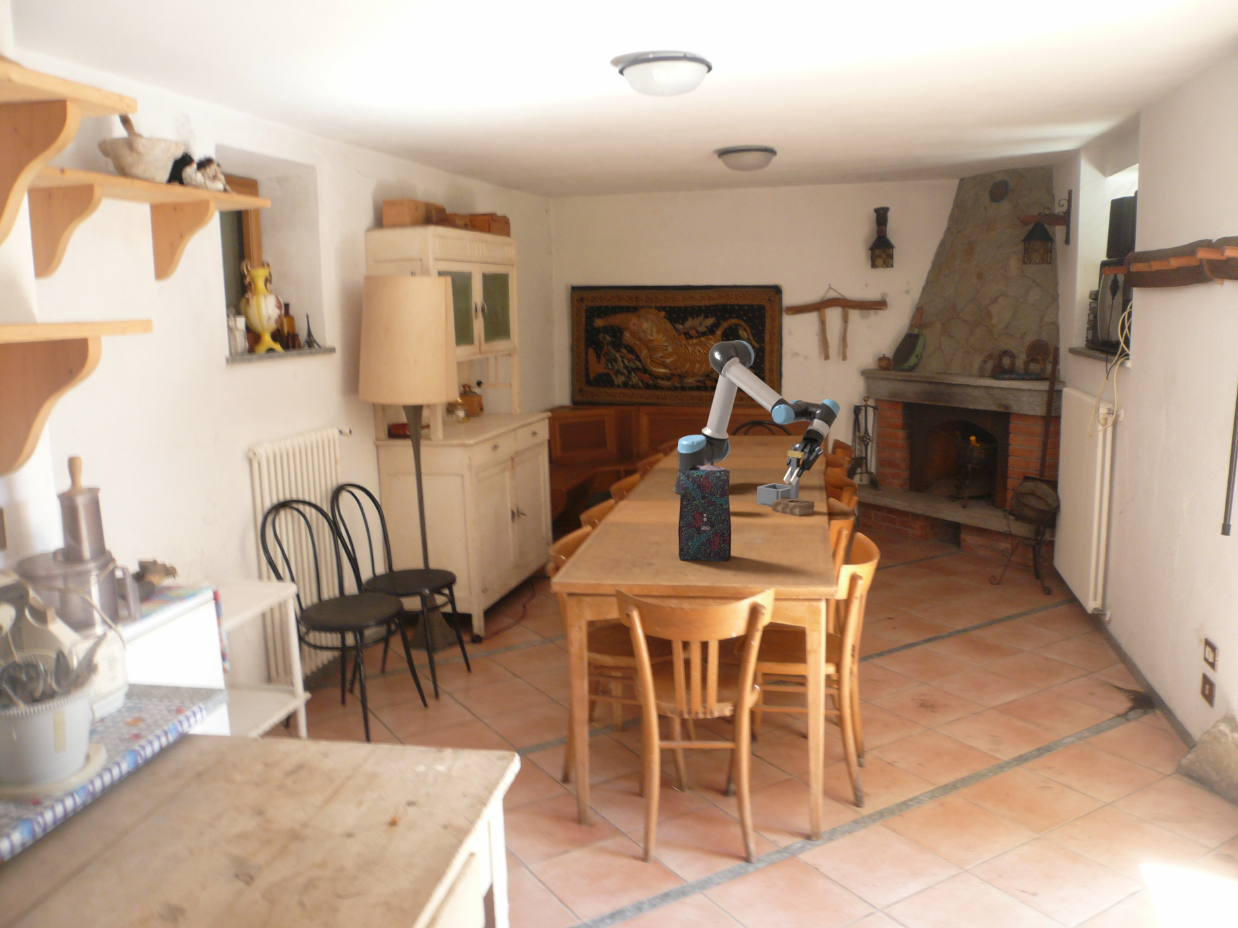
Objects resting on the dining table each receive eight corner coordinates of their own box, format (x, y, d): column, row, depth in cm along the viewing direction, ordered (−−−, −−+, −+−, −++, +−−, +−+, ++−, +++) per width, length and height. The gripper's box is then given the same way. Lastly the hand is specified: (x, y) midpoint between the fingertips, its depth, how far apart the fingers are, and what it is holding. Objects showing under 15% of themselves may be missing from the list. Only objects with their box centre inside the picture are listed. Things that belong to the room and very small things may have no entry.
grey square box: (756, 504, 379) (756, 487, 378) (773, 499, 387) (773, 482, 386) (779, 508, 371) (780, 490, 370) (797, 504, 379) (797, 486, 378)
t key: (785, 497, 366) (787, 450, 363) (789, 496, 368) (791, 450, 365) (799, 499, 362) (800, 452, 359) (802, 498, 364) (804, 452, 360)
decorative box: (679, 553, 308) (679, 467, 303) (730, 554, 306) (731, 468, 301) (678, 560, 300) (678, 472, 295) (730, 561, 298) (731, 473, 293)
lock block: (772, 511, 367) (772, 501, 366) (787, 507, 374) (788, 497, 373) (798, 516, 358) (798, 505, 358) (813, 511, 365) (814, 501, 365)
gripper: (836, 442, 366) (809, 491, 358) (802, 438, 377) (776, 485, 369) (829, 430, 362) (802, 479, 353) (795, 426, 373) (768, 473, 364)
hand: (788, 482), depth 361 cm, fingers closed on t key, 2 cm apart
